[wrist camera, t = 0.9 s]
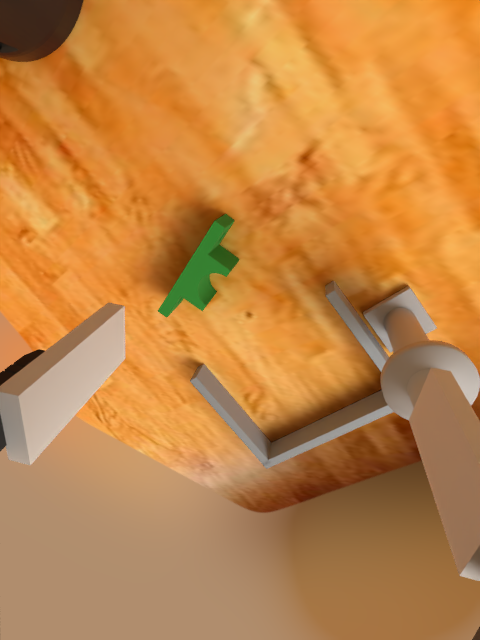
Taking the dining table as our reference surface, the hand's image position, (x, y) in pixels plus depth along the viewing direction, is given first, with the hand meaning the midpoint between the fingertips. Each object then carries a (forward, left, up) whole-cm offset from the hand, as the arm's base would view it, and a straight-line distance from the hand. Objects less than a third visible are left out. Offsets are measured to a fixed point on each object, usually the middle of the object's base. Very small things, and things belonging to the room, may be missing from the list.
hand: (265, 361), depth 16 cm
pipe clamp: (-3, -9, -24) cm, 26 cm away
